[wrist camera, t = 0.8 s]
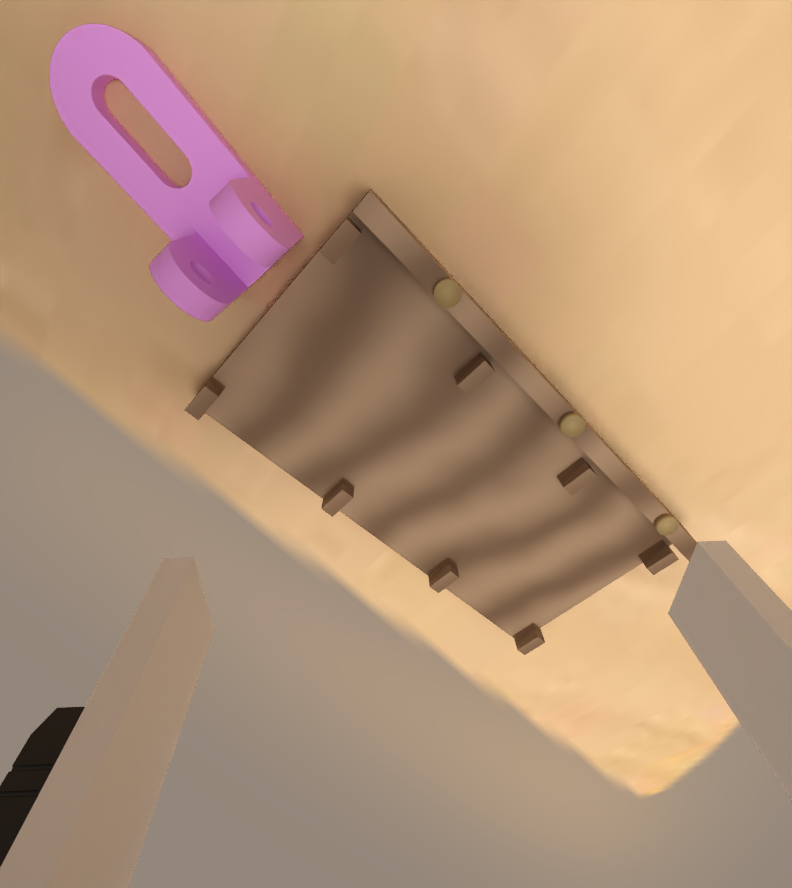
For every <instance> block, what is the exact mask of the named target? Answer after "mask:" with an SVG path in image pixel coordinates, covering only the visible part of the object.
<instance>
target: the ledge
mask: <svg viewBox="0 0 792 888" xmlns="http://www.w3.org/2000/svg"><path fill="white" fill-rule="evenodd" d="M185 411H186V412H188V413H189V414H191V415H192V416H193V417H195V418H196V419H198V420H199V419H200V418H201V417H202V415H203V414H204V413H206V414H208V415H209V416H211V417H212V418H213V419H215V420H216V421H217V422H219V423H220V424H221V425H223V426H224V427H226V428H227V429H228V430H230V431H231V432H232V433H234V434H235V435H237V436H238V437H239V438H241V439H242V440H243V441H245V442H246V443H247V444H249V445H250V446H252V447H253V448H254V449H256V450H257V451H258V452H260V453H261V454H263V455H264V456H265V457H267V458H268V459H269V460H271V461H272V462H274V463H275V464H276V465H278V466H279V467H280V468H282V469H283V470H284V471H286V472H287V473H289V474H290V475H291V476H293V477H294V478H295V479H297V480H298V481H300V482H301V483H302V484H304V485H305V486H306V487H308V488H309V489H310V490H312V491H313V492H315V493H316V494H317V495H319V496H320V497H321V498H323V503H322V509H323V510H324V511H325V512H327V513H328V514H330V515H331V516H332V517H333V516H334V515H335V514H336V513H337V512H338V511H341V512H342V513H343V514H345V515H346V516H347V517H349V518H350V519H352V520H353V521H354V522H356V523H357V524H358V525H360V526H361V527H363V528H364V529H365V530H367V531H368V532H369V533H371V534H372V535H373V536H375V537H376V538H378V539H379V540H380V541H382V542H383V543H384V544H386V545H387V546H389V547H390V548H391V549H393V550H394V551H395V552H397V553H398V554H399V555H401V556H402V557H404V558H405V559H406V560H408V561H409V562H410V563H412V564H413V565H415V566H416V567H417V568H419V569H420V570H421V571H423V572H424V573H426V574H427V575H428V576H429V584H430V587H431V588H432V589H434V590H435V591H437V592H438V593H439V592H441V591H442V590H443V589H445V588H446V589H447V590H449V591H450V592H452V593H453V594H454V595H456V596H457V597H458V598H460V599H461V600H462V601H464V602H465V603H467V604H468V605H469V606H471V607H472V608H473V609H475V610H476V611H478V612H479V613H480V614H482V615H483V616H484V617H486V618H487V619H489V620H490V621H491V622H493V623H494V624H495V625H497V626H498V627H499V628H501V629H502V630H504V631H505V632H506V633H508V634H509V635H510V636H512V637H513V638H514V639H515V642H516V646H517V649H518V650H519V651H520V652H521V653H523V654H524V655H525V654H527V653H529V652H530V651H532V650H534V649H535V648H537V647H538V646H540V645H542V644H543V643H545V641H544V638H543V635H542V632H541V629H540V628H541V627H542V626H544V625H545V624H547V623H549V622H550V621H552V620H553V619H555V618H556V617H558V616H560V615H561V614H563V613H564V612H566V611H567V610H569V609H571V608H572V607H574V606H575V605H577V604H579V603H580V602H582V601H583V600H585V599H586V598H588V597H590V596H591V595H593V594H594V593H596V592H597V591H599V590H601V589H602V588H604V587H605V586H607V585H608V584H610V583H612V582H613V581H615V580H616V579H618V578H619V577H621V576H623V575H624V574H626V573H627V572H629V571H630V570H632V569H634V568H635V567H637V566H638V565H640V564H642V563H644V565H645V566H646V568H647V569H648V570H649V571H650V572H651V573H652V574H653V575H655V574H656V573H658V572H659V571H661V570H663V569H664V568H666V567H667V566H669V565H671V564H672V563H674V562H675V561H677V560H679V559H678V558H677V556H676V555H675V554H674V553H673V551H672V550H671V549H670V547H669V546H670V545H671V544H673V545H674V546H675V547H676V548H677V549H678V550H679V551H680V552H681V553H682V554H683V555H684V556H685V557H686V558H687V559H688V560H689V562H690V559H691V557H692V554H693V552H694V549H695V547H696V545H697V542H696V541H695V540H694V539H693V537H692V536H691V535H690V534H689V533H688V532H687V530H686V529H685V528H684V527H683V526H682V525H681V523H680V522H679V521H678V520H677V519H676V518H675V517H674V516H673V515H672V514H671V513H670V512H669V510H668V509H667V508H666V507H665V506H664V505H663V504H662V503H661V502H660V501H659V500H658V499H657V497H656V496H655V495H654V494H653V493H652V492H651V491H650V490H649V489H648V488H647V487H646V486H645V485H644V483H643V482H642V481H641V480H640V479H639V478H638V477H637V476H636V475H635V474H634V473H633V472H632V470H631V469H630V468H629V467H628V466H627V465H626V464H625V463H624V462H623V461H622V460H621V459H620V457H619V456H618V455H617V454H616V453H615V452H614V451H613V450H612V449H611V448H610V447H609V446H608V445H607V443H606V442H605V441H604V440H603V439H602V438H601V437H600V436H599V435H598V434H597V433H596V432H595V430H594V429H593V428H592V427H591V426H590V425H589V424H588V423H587V422H586V421H585V420H584V419H583V417H582V416H581V415H580V414H579V413H578V412H577V411H576V410H575V409H574V408H573V407H572V406H571V405H570V403H569V402H568V401H567V400H566V399H565V398H564V397H563V396H562V395H561V394H560V393H559V392H558V390H557V389H556V388H555V387H554V386H553V385H552V384H551V383H550V382H549V381H548V380H547V379H546V377H545V376H544V375H543V374H542V373H541V372H540V371H539V370H538V369H537V368H536V367H535V366H534V364H533V363H532V362H531V361H530V360H529V359H528V358H527V357H526V356H525V355H524V354H523V353H522V352H521V350H520V349H519V348H518V347H517V346H516V345H515V344H514V343H513V342H512V341H511V340H510V339H509V337H508V336H507V335H506V334H505V333H504V332H503V331H502V330H501V329H500V328H499V327H498V326H497V324H496V323H495V322H494V321H493V320H492V319H491V318H490V317H489V316H488V315H487V314H486V313H485V312H484V310H483V309H482V308H481V307H480V306H479V305H478V304H477V303H476V302H475V301H474V300H473V299H472V297H471V296H470V295H469V294H468V293H467V292H466V291H465V290H464V289H463V288H462V287H461V286H460V284H459V283H458V282H457V281H456V280H455V279H454V278H453V277H452V276H451V275H450V274H449V273H448V272H447V270H446V269H445V268H444V267H443V266H442V265H441V264H440V263H439V262H438V261H437V260H436V259H435V257H434V256H433V255H432V254H431V253H430V252H429V251H428V250H427V249H426V248H425V247H424V246H423V244H422V243H421V242H420V241H419V240H418V239H417V238H416V237H415V236H414V235H413V234H412V233H411V232H410V230H409V229H408V228H407V227H406V226H405V225H404V224H403V223H402V222H401V221H400V220H399V219H398V217H397V216H396V215H395V214H394V213H393V212H392V211H391V210H390V209H389V208H388V207H387V206H386V204H385V203H384V202H383V201H382V200H381V199H380V198H379V197H378V196H377V195H376V194H375V193H374V191H373V190H372V189H371V190H370V191H369V192H368V193H367V195H366V196H365V197H364V198H363V199H362V200H361V202H360V203H359V204H358V205H357V206H356V208H355V209H354V210H353V211H352V212H351V213H350V215H349V216H348V217H347V218H346V219H345V221H344V222H343V223H342V224H341V225H340V226H339V228H338V229H337V230H336V231H335V232H334V234H333V235H332V236H331V237H330V238H329V239H328V241H327V242H326V243H325V244H324V245H323V247H322V248H321V249H320V250H319V251H318V252H317V254H316V255H315V256H314V257H313V258H312V260H311V261H310V262H309V263H308V264H307V265H306V267H305V268H304V269H303V270H302V271H301V273H300V274H299V275H298V276H297V277H296V278H295V280H294V281H293V282H292V283H291V284H290V286H289V287H288V288H287V289H286V290H285V291H284V293H283V294H282V295H281V296H280V297H279V299H278V300H277V301H276V302H275V303H274V304H273V306H272V307H271V308H270V309H269V310H268V312H267V313H266V314H265V315H264V316H263V317H262V319H261V320H260V321H259V322H258V323H257V325H256V326H255V327H254V328H253V329H252V330H251V332H250V333H249V334H248V335H247V336H246V338H245V339H244V340H243V341H242V342H241V343H240V345H239V346H238V347H237V348H236V349H235V351H234V352H233V353H232V354H231V355H230V356H229V358H228V359H227V360H226V361H225V362H224V364H223V365H222V366H221V367H220V368H219V369H218V371H217V372H216V373H215V374H214V375H213V377H212V378H211V379H210V380H209V381H208V382H207V384H206V385H205V386H204V387H203V388H202V390H201V391H200V392H199V393H198V394H197V396H196V397H195V398H194V399H193V400H192V402H191V403H190V404H189V405H188V406H187V408H186V409H185Z"/></svg>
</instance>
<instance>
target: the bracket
mask: <svg viewBox="0 0 792 888" xmlns="http://www.w3.org/2000/svg"><path fill="white" fill-rule="evenodd" d="M49 77H50V87H51V93H52V97H53V100H54V103H55V106H56V109H57V111H58V113H59V115H60V117H61V119H62V121H63V123H64V124H65V126H66V127H67V129H68V130H69V131H70V133H71V134H72V135H73V136H74V138H75V139H76V140H77V141H78V142H79V143H80V144H81V145H82V146H83V147H84V148H85V149H86V150H87V152H88V153H89V154H90V155H91V156H92V157H93V158H94V159H95V160H96V161H97V162H98V163H99V164H100V165H101V166H102V167H103V168H104V169H105V170H106V172H107V173H108V174H109V175H110V176H111V177H112V178H113V179H114V180H115V181H116V182H117V183H118V184H119V185H120V186H121V187H122V188H123V189H124V190H125V192H126V193H127V194H128V195H129V196H130V197H131V198H132V199H133V200H134V201H135V202H136V203H137V204H138V205H139V206H140V207H141V208H142V209H143V210H144V211H145V213H146V214H147V215H148V216H149V217H150V218H151V219H152V220H153V221H154V222H155V223H156V224H157V225H158V226H159V227H160V228H161V229H162V230H163V231H164V233H165V234H166V235H167V236H168V237H169V238H170V239H171V240H172V241H171V242H170V243H169V244H168V245H167V246H166V247H165V248H164V249H163V250H162V251H161V252H160V253H159V254H158V255H157V256H156V257H155V258H154V259H153V260H152V261H151V262H150V272H151V275H152V277H153V279H154V280H155V282H156V284H157V285H158V287H159V288H160V289H161V290H162V292H163V293H164V294H165V295H166V296H167V297H168V298H169V299H170V300H171V301H172V302H173V303H174V304H175V305H176V306H178V307H179V308H180V309H181V310H183V311H184V312H186V313H187V314H189V315H190V316H192V317H194V318H196V319H199V320H202V321H211V320H212V319H214V318H215V317H216V316H217V315H218V314H219V313H220V312H222V311H223V310H224V309H225V308H226V307H227V306H228V305H230V304H231V303H232V302H233V301H234V300H235V299H236V298H238V297H239V296H240V295H241V294H242V293H243V292H244V291H245V290H246V289H247V288H248V287H250V286H251V285H252V284H253V283H254V282H255V281H256V280H257V279H258V278H259V277H260V276H261V275H263V274H264V273H265V272H266V271H267V270H268V269H269V268H270V267H271V266H272V265H273V264H275V263H276V262H277V261H278V260H279V259H280V258H281V257H282V256H283V255H284V254H285V253H287V252H288V251H289V250H290V249H291V248H292V247H293V246H294V245H295V244H296V243H297V242H299V241H300V240H301V239H302V238H303V237H304V236H303V234H302V233H301V232H300V231H299V229H298V228H297V227H296V226H295V225H294V223H293V222H292V221H291V220H290V218H289V217H288V216H287V215H286V214H285V212H284V211H283V210H282V209H281V207H280V206H279V205H278V204H277V203H276V201H275V200H274V199H273V198H272V196H271V195H270V194H269V193H268V192H267V190H266V189H265V188H264V187H263V185H262V184H261V183H260V182H259V181H258V179H257V178H256V177H255V176H254V174H253V173H252V172H251V171H250V170H249V168H248V167H247V166H246V165H245V163H244V162H243V161H242V160H241V159H240V157H239V156H238V155H237V154H236V152H235V151H234V150H233V149H232V148H231V146H230V145H229V144H228V143H227V141H226V140H225V139H224V138H223V137H222V135H221V134H220V133H219V132H218V130H217V129H216V128H215V127H214V126H213V124H212V123H211V122H210V121H209V119H208V118H207V117H206V116H205V115H204V113H203V112H202V111H201V110H200V108H199V107H198V106H197V105H196V103H195V102H194V101H193V100H192V99H191V97H190V96H189V95H188V94H187V92H186V91H185V90H184V89H183V88H182V86H181V85H180V84H179V83H178V81H177V80H176V79H175V78H174V77H173V75H172V74H171V73H170V72H169V70H168V69H167V68H166V67H165V66H164V64H163V63H162V62H161V61H160V59H159V58H158V57H157V56H156V55H155V54H154V53H153V52H152V51H151V50H150V49H149V48H148V47H147V46H145V45H144V44H143V43H141V42H140V41H138V40H137V39H135V38H133V37H131V36H130V35H128V34H126V33H124V32H122V31H120V30H118V29H116V28H113V27H111V26H107V25H103V24H85V25H81V26H78V27H76V28H74V29H72V30H70V31H69V32H67V33H66V34H65V35H64V36H63V37H62V38H61V40H60V41H59V42H58V44H57V46H56V47H55V49H54V52H53V55H52V58H51V63H50V76H49ZM115 79H119V80H120V81H121V82H122V83H123V84H124V85H125V86H126V87H127V88H128V90H129V91H130V92H131V93H132V94H133V95H134V96H135V98H136V99H137V100H138V101H139V102H140V103H141V105H142V106H143V107H144V108H145V109H146V110H147V111H148V113H149V114H150V115H151V116H152V117H153V118H154V120H155V121H156V122H157V123H158V124H159V125H160V126H161V128H162V129H163V130H164V131H165V132H166V133H167V135H168V136H169V137H170V138H171V139H172V140H173V142H174V143H175V144H176V145H177V146H178V147H179V148H180V150H181V151H182V152H183V153H184V154H185V155H186V157H187V158H188V160H189V162H190V164H191V168H192V177H191V180H190V182H189V183H188V184H187V185H186V186H185V187H183V188H182V187H179V186H177V185H175V184H174V183H173V182H172V181H171V180H170V179H169V178H168V177H167V176H166V175H165V174H164V173H163V172H162V170H161V169H160V168H159V167H158V166H157V165H156V164H155V163H154V162H153V160H152V159H151V158H150V157H149V156H148V155H147V154H146V153H145V151H144V150H143V149H142V148H141V147H140V146H139V145H138V144H137V143H136V141H135V140H134V139H133V138H132V137H131V136H130V135H129V134H128V133H127V131H126V130H125V129H124V128H123V127H122V126H121V125H120V124H119V123H118V121H117V120H116V119H115V118H114V117H113V116H112V115H111V113H110V112H109V110H108V109H107V107H106V104H105V100H104V92H105V88H106V86H107V84H108V83H109V82H110V81H112V80H115Z"/></svg>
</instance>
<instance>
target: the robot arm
mask: <svg viewBox="0 0 792 888" xmlns="http://www.w3.org/2000/svg"><path fill="white" fill-rule="evenodd" d="M668 614H669V615H670V617H671V619H672V620H673V622H674V623H675V625H676V626H677V628H678V629H679V631H680V632H681V634H682V635H683V637H684V638H685V640H686V641H687V643H688V644H689V646H690V647H691V649H692V650H693V652H694V653H695V655H696V656H697V658H698V660H699V661H700V663H701V664H702V666H703V667H704V669H705V670H706V672H707V673H708V675H709V676H710V678H711V679H712V681H713V682H714V684H715V685H716V687H717V688H718V690H719V691H720V693H721V694H722V696H723V697H724V699H725V701H726V702H727V704H728V705H729V707H730V708H731V710H732V711H733V713H734V714H735V716H736V717H737V719H738V720H739V722H740V723H741V725H742V726H743V728H744V729H745V731H746V732H747V734H748V735H749V737H750V738H751V740H752V742H753V743H754V745H755V746H756V748H757V749H758V751H759V752H760V754H761V755H762V757H763V758H764V760H765V761H766V763H767V764H768V766H769V767H770V769H771V770H772V772H773V773H774V775H775V776H776V778H777V779H778V781H779V783H780V784H781V785H782V787H783V788H784V790H785V791H786V793H787V795H788V796H789V798H790V799H791V801H792V611H791V610H790V609H789V608H788V607H787V606H786V604H785V603H784V602H783V601H782V600H781V599H780V598H779V597H778V596H777V595H776V594H775V593H774V592H773V591H772V590H771V588H770V587H769V586H768V585H767V584H766V583H765V582H764V581H763V580H762V579H761V578H760V577H759V576H758V575H757V574H756V572H755V571H754V570H753V569H752V568H751V567H750V566H749V565H748V564H747V563H746V562H745V561H744V560H743V559H742V558H741V556H740V555H739V554H738V553H737V552H736V551H735V550H734V549H733V548H732V547H731V546H730V545H729V544H728V543H727V542H726V541H706V542H697V545H696V547H695V549H694V552H693V554H692V557H691V559H690V562H689V564H688V566H687V569H686V571H685V574H684V576H683V579H682V581H681V584H680V586H679V588H678V591H677V593H676V596H675V598H674V601H673V603H672V605H671V608H670V610H669V613H668ZM214 630H215V629H214V626H213V623H212V619H211V615H210V612H209V608H208V605H207V601H206V597H205V594H204V590H203V587H202V583H201V580H200V576H199V573H198V569H197V566H196V562H195V558H194V557H186V558H185V557H182V558H163V560H162V562H161V564H160V566H159V568H158V569H157V571H156V573H155V575H154V577H153V579H152V581H151V583H150V585H149V587H148V589H147V590H146V592H145V594H144V596H143V598H142V600H141V602H140V604H139V605H138V607H137V609H136V611H135V613H134V615H133V617H132V619H131V621H130V623H129V625H128V627H127V628H126V630H125V632H124V634H123V636H122V638H121V640H120V642H119V644H118V645H117V647H116V649H115V651H114V653H113V655H112V657H111V659H110V661H109V663H108V664H107V666H106V668H105V670H104V672H103V674H102V676H101V678H100V679H99V682H98V683H97V685H96V687H95V689H94V691H93V693H92V695H91V697H90V698H89V700H88V702H87V704H86V706H85V707H68V708H57V709H56V710H55V711H54V712H53V713H52V714H51V715H50V716H49V717H48V718H47V719H46V720H45V721H44V722H43V723H42V724H41V725H40V726H39V727H38V728H37V729H36V730H35V731H34V732H33V733H32V734H31V735H30V737H29V739H28V740H27V742H26V744H25V746H24V747H23V749H22V750H21V752H20V754H19V755H18V757H17V759H16V761H15V762H14V764H13V768H12V771H11V772H8V774H7V776H6V777H5V779H4V781H3V782H2V784H1V786H0V888H128V886H129V883H130V880H131V877H132V874H133V871H134V868H135V865H136V862H137V859H138V856H139V853H140V850H141V847H142V844H143V841H144V838H145V835H146V832H147V829H148V826H149V823H150V820H151V818H152V815H153V811H154V808H155V806H156V803H157V800H158V797H159V794H160V791H161V788H162V785H163V782H164V779H165V776H166V773H167V770H168V767H169V764H170V761H171V758H172V755H173V752H174V749H175V746H176V743H177V740H178V737H179V734H180V731H181V728H182V725H183V722H184V719H185V716H186V714H187V710H188V707H189V704H190V702H191V699H192V696H193V693H194V690H195V686H196V684H197V681H198V678H199V675H200V672H201V669H202V666H203V663H204V660H205V657H206V654H207V651H208V648H209V645H210V642H211V639H212V636H213V633H214Z"/></svg>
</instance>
